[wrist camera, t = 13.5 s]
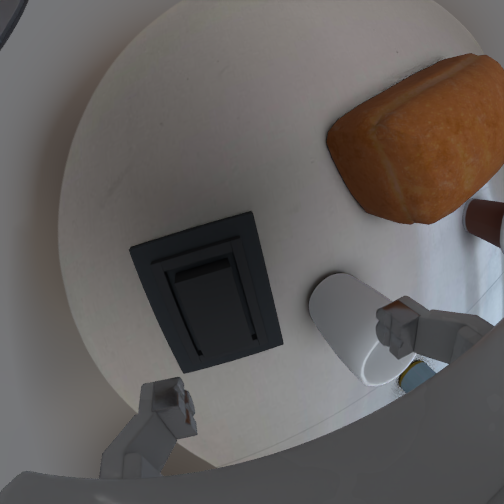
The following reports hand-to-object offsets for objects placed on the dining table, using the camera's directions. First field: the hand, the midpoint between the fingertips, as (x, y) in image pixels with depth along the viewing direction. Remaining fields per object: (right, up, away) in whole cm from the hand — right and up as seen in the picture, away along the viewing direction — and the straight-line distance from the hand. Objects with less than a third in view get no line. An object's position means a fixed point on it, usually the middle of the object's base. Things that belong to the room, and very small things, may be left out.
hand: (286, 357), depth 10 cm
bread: (+23, +23, +22) cm, 39 cm away
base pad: (-6, -2, +23) cm, 24 cm away
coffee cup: (+39, +11, +29) cm, 50 cm away
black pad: (-6, -2, +22) cm, 23 cm away
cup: (+9, -2, +27) cm, 28 cm away
